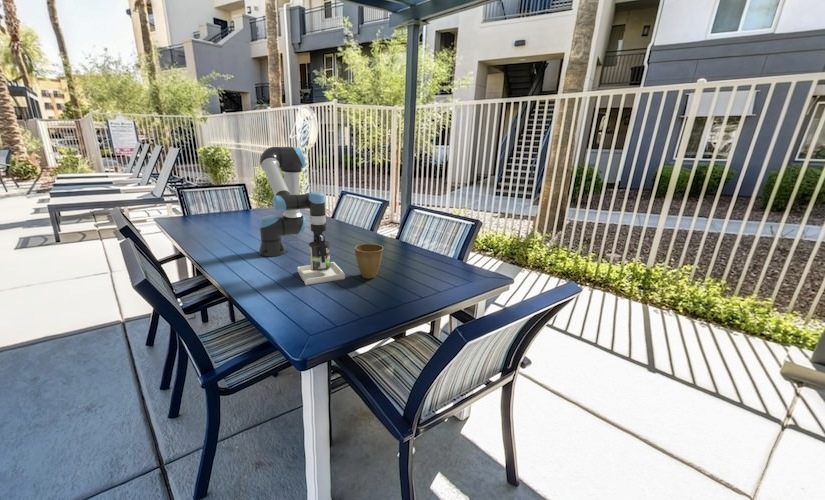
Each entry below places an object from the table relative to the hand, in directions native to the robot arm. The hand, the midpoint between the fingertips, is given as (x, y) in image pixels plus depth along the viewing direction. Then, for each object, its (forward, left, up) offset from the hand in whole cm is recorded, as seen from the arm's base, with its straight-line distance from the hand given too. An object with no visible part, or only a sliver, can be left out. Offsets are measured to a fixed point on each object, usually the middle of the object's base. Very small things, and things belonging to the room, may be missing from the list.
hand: (320, 264), depth 178 cm
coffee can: (0, 0, -3) cm, 3 cm away
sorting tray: (0, 0, -6) cm, 6 cm away
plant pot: (+11, +23, -6) cm, 26 cm away
